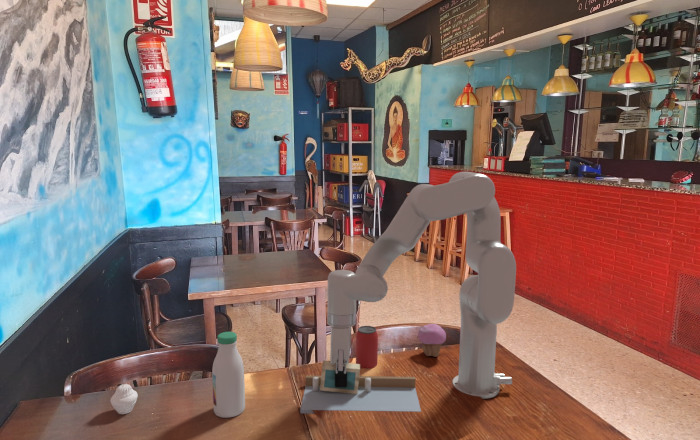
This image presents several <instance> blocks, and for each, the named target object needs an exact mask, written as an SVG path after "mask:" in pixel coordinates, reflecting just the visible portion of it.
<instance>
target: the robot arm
mask: <svg viewBox="0 0 700 440" xmlns="http://www.w3.org/2000/svg"><path fill="white" fill-rule="evenodd" d="M495 194H496V187H495V183H494V182H493V180H492V179H491V177H489V176H488V175H485V174H482V173H479V172H478V173H477V172H473V171H472V172H471V171H460V172H457V173H455V174H453V175H452V176H451V177H450V179H449V181H448V182H445V183H440V184H437V185H433V184H428V183H421V184H418V185H416V186H414V187H413V188H412V189H411V190H410V192H409V193H408V194H407V196H406V198H405V199H404V201H403V203H402V204H401V206H400V207H399V209H398V210H397V213H396V214H395V216H394V217H393V219H392V220H391V222H390V223H389V225H388V227H387V228H386V230H384V232H383V233H382V234H381V235H380V236H379V238H377V240H376V241H375V242H374V243H373V244H372V245H371V247H370V248H369V249H368V251H367V253H366V254H365V256H364V257H363V259H362V260H361V261H360V263H359V265H358V267H357V269H356V271H355V272H353V271H352V270H348V269H335V270H332V271H330V272H329V274H328V276H327V317H326V318H327V322H326V323H327V325H328V326H329V327H330V355H329V356H330V358H329V361H330V363H331V364H335V362H336V372H335V387H347V372H346V364H348V363H350V357H351V347H352V346H351V345H352V327H354V326H355V325H356V324H357V302H358V301H359V302H366V303H377V302H380V301H382V300H383V299H384V298H385V297H386V296H387V294H388V289H389V286H388V283H387V280H386V279H385V278H384V276H385V274H386V272H387V271H388V270H389V268H390V266H391V265H392V264H393V262H395V260H396V259H398V257H400V256H401V255H403V254H405V253H408V252H410V251H411V250H412V249H414V247H416V245H417V244H418V242H419V240H420V239H421V237H422V235H423V233H425V231H426V230H427V228H428V226H429V225H430V223H431V222H434V221H435V222H436V221H442V220H447V219H450V218H454V217H457V216H460V215H464V214H466V226H467V227H466V229H467V230H466V243H465V245H466V246H465V262H466V264H467V265H468V266H469V268H471V270H473V271H474V272H475V273H477V275H470V276H469V277H467V278H466V279H464V281H463V282H462V283H461V285H460V287H459V294H458V295H459V297H458V298H459V311H460V332H459V333H460V335H459V351H458V352H459V355H458V356H459V357H458V375H456V376H455V377H453V379H452V385H453V387H454V388H455V389H456V390H458V391H459V392H461V393H463V394H465V395H466V394H467V395H468V396H474V397H479V398H480V399H483V400H485V399H486V400H487V399H491V398H494V397H496V396H497V395H499V393H500V386H501V385H513V378H512V377H511V376H506V375H505V374H504V373H496V372H495V368H496V367H495V365H496V353H497V351H496V348H497V335H498V334H497V333H498V324H501V323H503V322H505V321H506V320H508V318H509V317H510V315H511V314H512V312H513V308H514V303H515V293H516V277H517V262H516V258H515V255H514V253H513V252H512V250H511V249H510V248H509V247H508V246H507V245H505V244H503V243H502V242H501V235H502V234H501V232H502V231H501V228H502V227H501V225H502V221H501V217H502V215H501V209H500V207H499V204H498V203H499V202H497V199H496V198H495V196H496V195H495ZM343 365H344V366H343Z"/></svg>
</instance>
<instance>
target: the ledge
mask: <svg viewBox="0 0 700 440" xmlns="http://www.w3.org/2000/svg"><path fill="white" fill-rule="evenodd" d="M320 384H321V375H305V387H304V392H303V397H302V402H301V405H300V409H299V410H300V414H306V415H307V414H310V415H311V414H314V415H315V414H316V412H314V411H343V412H344V411H347V412H348V411H350V412H352V411H353V412H360V411H361V412H416V413H418V412H420V413H421V412H422V410H421V405H420V401H419V397H418V393H417V390H416V376H378V375H377V376H376V375H375V376H373V375H372V376H371V375H368V376H367V375H359V384H358V393H357V394H352V393H342V392H332V391H322V390H320Z"/></svg>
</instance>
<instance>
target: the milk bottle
mask: <svg viewBox="0 0 700 440" xmlns="http://www.w3.org/2000/svg"><path fill="white" fill-rule="evenodd" d="M237 335H238V334H237V333H236V332H234V331H224V332H220V333H219V334H218V335H217V339H216V340H217V346H218V349H217V352H216V356H214V360H213V364H212V372H211V374H212V375H211V377H212V379H211V380H212V402H213V403H212V404H213V407H212V408H213V413H214V414H215V416H217V417H218V418H224V419H225V418H226V419H228V418H229V419H231V418H234V417H238V416H240V415H241V414H242V413H243V412H244V410H245V409H246V392H245V391H246V390H245V389H246V386H245V367H244V362H243V358H242V356H241V354H240V352H239V350H238V347H237V343H238V341H237V340H238V338H237Z"/></svg>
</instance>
